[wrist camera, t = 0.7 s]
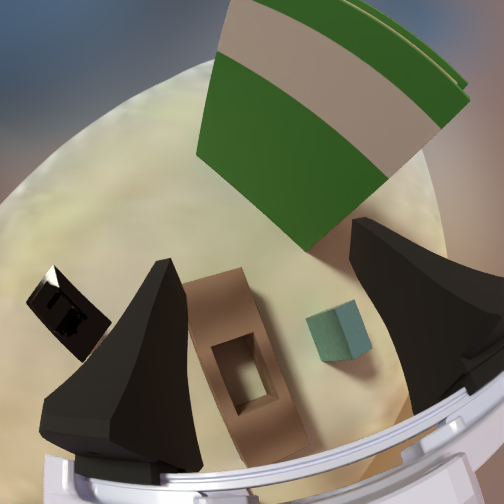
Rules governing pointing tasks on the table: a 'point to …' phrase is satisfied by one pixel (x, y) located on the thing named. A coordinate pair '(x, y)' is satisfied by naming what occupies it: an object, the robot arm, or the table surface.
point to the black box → (68, 314)
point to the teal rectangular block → (339, 333)
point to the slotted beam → (250, 325)
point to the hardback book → (320, 107)
